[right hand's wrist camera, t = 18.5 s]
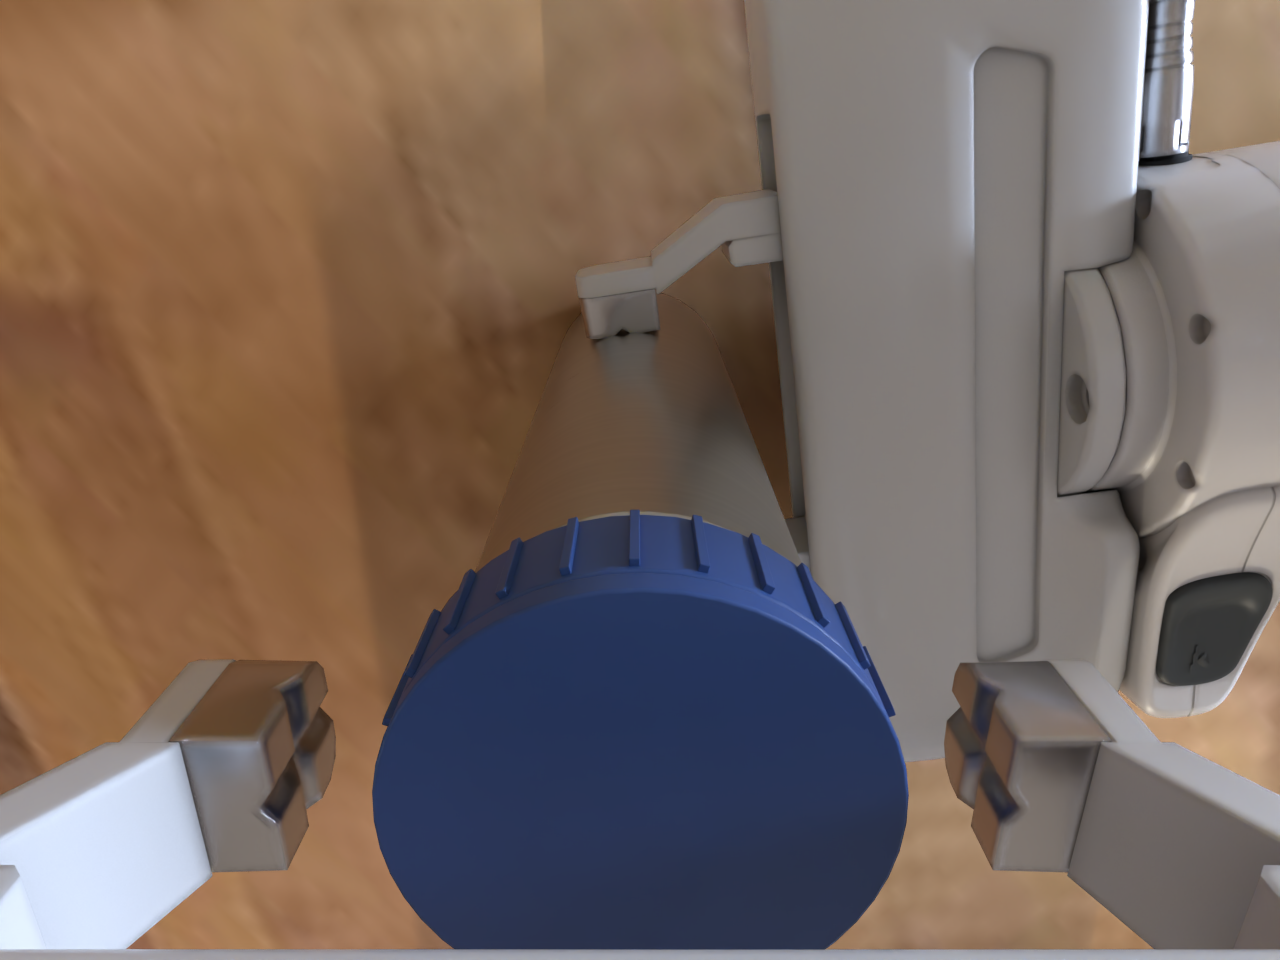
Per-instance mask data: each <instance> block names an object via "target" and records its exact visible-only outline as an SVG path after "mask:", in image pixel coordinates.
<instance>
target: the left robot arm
mask: <svg viewBox="0 0 1280 960" xmlns="http://www.w3.org/2000/svg"><path fill="white" fill-rule="evenodd" d="M744 4H745V16H746V27H747V38H748V48H749V59H750V69H751V80H752V91H753V101H754V112H755V122H756V133H757V144H758V154H759V165H760V175H761V186H762V190H760V191H754V192H748V193H742V194H736V195H730V196H724V197H718V198H714V199H713V200H712V201H710V202H709V203H708V204H707V205H705V206H704V207H703V208H702V209H701V210H699V211H698V212H697V213H696V214H695V215H693V216H692V217H691V218H690V219H689V220H687V221H686V222H685V223H684V224H683V225H681V226H680V227H679V228H678V229H677V230H675V231H674V232H673V233H672V234H671V235H669V236H668V237H667V238H666V239H664V240H663V241H662V242H661V243H660V244H658V245H657V246H656V247H655V248H654V249H652V250H651V256H649V257H642V258H636V259H630V260H624V261H617V262H611V263H605V264H598V265H593V266H590V267H586V268H583V269H580V270H578V271H577V273H576V275H575V280H576V286H577V292H578V297H579V303H580V308H581V313H582V318H583V323H584V328H585V333H586V338H589V339H603V338H608V337H611V336H615V335H616V334H617V333H618V332H619V331H620V330H621V329H623V330H625V331H627V332H629V333H643V332H649V331H655V330H660V321H659V313H658V305H657V297H656V292H657V294H660V293H661V292H662V291H663V290H665V289H666V288H667V287H669V286H670V285H671V284H672V283H674V282H675V281H676V280H677V279H679V278H680V277H681V276H683V275H684V274H685V273H686V272H688V271H689V270H690V269H691V268H693V267H694V266H695V265H697V264H698V263H699V262H700V261H702V260H703V259H704V258H705V257H707V256H708V255H709V254H711V253H712V252H713V251H714V250H716V249H717V248H718V247H719V246H721V248H722V252H723V253H724V255H725V256H726V257H727V259H728V260H729V262H730V263H731V264H733V265H734V266H735V267H740V266H747V265H754V264H761V263H768V262H769V271H770V281H771V292H772V302H773V313H774V324H775V334H776V345H777V355H778V366H779V376H780V387H781V398H782V408H783V419H784V429H785V440H786V451H787V461H788V472H789V482H790V493H791V503H792V514H793V518H789V519H785V522H786V525H787V527H788V530H789V532H790V535H791V538H792V540H793V543H794V545H795V548H796V550H797V553H798V556H799V558H800V561H801V563H804V564H805V565H806V566H807V567H808V568H809V570H810V573H811V575H812V578H813V580H814V581H815V582H816V583H817V584H818V586H819V587H820V588H821V589H822V590H823V591H824V592H825V593H826V595H827V596H828V597H829V598H830V599H831V600H832V601H833V602H834V604H836V603H838V602H840V601H841V602H842V604H843V605H844V606H845V608H846V610H847V613H848V615H849V617H850V619H851V622H852V624H853V626H854V628H855V631H856V633H857V635H858V637H859V640H860V642H861V644H862V646H866V648H867V650H868V652H869V654H870V657H871V659H872V661H873V663H874V666H875V668H876V670H877V672H878V674H879V677H880V679H881V681H882V683H883V686H884V688H885V690H886V692H887V694H888V697H889V699H890V701H891V703H892V706H893V708H894V711H895V713H896V715H895V716H892V717H889V719H890V721H891V723H892V725H893V728H894V730H895V732H896V735H897V737H898V739H899V743H900V746H901V750H902V754H903V757H904V762H915V761H924V760H933V759H941V758H945V751H944V738H945V731H946V723H947V720H948V719H949V718H950V717H951V716H952V715H953V714H954V713H955V712H956V711H957V710H958V709H959V708H960V707H961V706H960V705H959V703H958V701H957V699H956V697H955V696H954V694H953V692H952V687H953V681H954V676H955V672H956V670H957V668H958V666H959V664H960V663H964V662H1020V661H1042V660H1068V659H1083V660H1085V661H1087V662H1089V663H1091V664H1093V665H1094V667H1095V668H1096V669H1097V670H1098V671H1099V672H1100V673H1101V675H1102V676H1103V677H1104V678H1105V679H1106V680H1107V681H1108V683H1109V684H1110V685H1111V686H1112V687H1113V688H1114V689H1115V691H1116V692H1118V691H1119V690H1120V691H1121V692H1122V693H1123V694H1124V695H1126V696H1127V697H1128V698H1129V699H1130V700H1131V701H1132V702H1133V703H1134V704H1135V705H1136V706H1137V707H1138V708H1140V709H1141V710H1142V711H1143V712H1144V713H1146V714H1147V715H1149V716H1152V717H1157V718H1179V717H1186V716H1187V717H1188V716H1194V715H1198V714H1202V713H1205V712H1208V711H1210V710H1212V709H1214V708H1215V707H1217V706H1218V705H1219V704H1221V703H1222V702H1223V701H1224V700H1225V698H1226V697H1227V696H1228V695H1229V693H1230V692H1231V690H1232V688H1233V687H1234V685H1235V683H1236V681H1237V679H1238V677H1239V676H1240V674H1241V672H1242V670H1243V668H1244V666H1245V664H1246V662H1247V660H1248V658H1249V656H1250V654H1251V652H1252V650H1253V648H1254V646H1255V644H1256V642H1257V640H1258V639H1259V637H1260V635H1261V633H1262V631H1263V629H1264V627H1265V626H1266V624H1267V622H1268V620H1269V619H1270V617H1271V615H1272V613H1273V611H1274V610H1275V608H1276V606H1277V605H1278V603H1279V601H1280V141H1274V142H1268V143H1262V144H1256V145H1250V146H1243V147H1237V148H1231V149H1224V150H1218V151H1212V152H1206V153H1199V154H1193V155H1192V154H1188V149H1189V137H1190V126H1191V112H1192V100H1193V88H1194V65H1192V62H1193V61H1194V59H1193V51H1191V48H1192V47H1193V37H1190V36H1191V34H1192V33H1193V23H1192V22H1191V20H1192V19H1193V16H1194V7H1195V0H744ZM655 288H656V289H655Z"/></svg>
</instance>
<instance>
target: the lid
mask: <svg viewBox="0 0 1280 960" xmlns="http://www.w3.org/2000/svg"><path fill="white" fill-rule="evenodd" d="M895 715H896V713H895V711H894V708H893V706H892V703H891V701H890V699H889V697H888V694H887V692H886V690H885V688H884V686H883V683H882V681H881V679H880V677H879V674H878V672H877V670H876V668H875V666H874V663H873V661H872V659H871V657H870V654H869V652H868V650H867V648H866V646H862V644H861V642H860V640H859V637H858V635H857V633H856V631H855V628H854V626H853V624H852V622H851V619H850V617H849V615H848V613H847V610H846V608H845V606H844V605H843V604H842V602H841V601H840V602H838V603H836V604H834V602H833V601H832V600H831V599H830V598H829V597H828V596H827V595H826V593H825V592H824V591H823V590H822V589H821V588H820V587H819V586H818V584H817V583H816V582H815V581H814V580H813V578H812V575H811V573H810V570H809V568H808V567H807V566H806V565H805V564H804V563H801V564H800V565H799V566H798V567H797V566H796V565H795V564H794V563H792V562H791V561H789V560H788V559H786V558H785V557H783V556H781V555H780V554H778V553H777V552H775V551H774V550H772V549H770V548H769V547H767V546H765V545H763V544H762V542H761V539H760V536H758V535H756V534H754V533H751V534H750V536H749V538H748V537H746V536H744V535H742V534H740V533H737V532H734V531H731V530H728V529H725V528H721V527H718V526H715V525H712V524H709V523H705V522H703V520H702V516H698V515H692V519H691V520H689V519H684V518H679V517H670V516H655V515H640V510H630V515H626V516H609V517H603V518H597V519H592V520H586V521H580V522H579V521H578V518H577V517H574V518H570V519H568V523H567V525H566V526H563V527H559V528H556V529H553V530H550V531H546V532H544V533H542V534H540V535H537V536H535V537H533V538H531V539H528V540H526V541H524V542H522V540H521V539H520V537H519V538H517V539H515V540H513V541H512V542H511V545H510V548H509V550H507V551H506V552H504V553H502V554H501V555H499V556H498V557H496V558H494V559H493V560H491V561H490V562H489V563H487V564H486V565H485V566H484V567H482V568H481V569H480V570H479V571H478V572H476V573H475V572H474V571H473V570H472V569H470V570H469V571H468V572H466V573H465V575H464V577H463V580H462V582H461V585H460V587H459V590H458V591H457V592H456V593H455V594H454V595H453V596H452V597H451V598H450V599H449V601H448V602H447V604H446V605H445V606H444V608H443V609H442V611H441V612H440V611H438V610H436V609H434V610H433V612H432V613H431V615H430V617H429V619H428V621H427V624H426V626H425V628H424V630H423V633H422V635H421V637H420V639H419V642H418V644H417V646H416V649H415V651H414V653H413V654H412V655H411V657H410V660H409V662H408V664H407V666H406V669H405V671H404V673H403V676H402V678H401V680H400V682H399V685H398V687H397V689H396V691H395V694H394V696H393V698H392V700H391V703H390V705H389V707H388V710H387V712H386V714H385V716H384V719H383V723H382V724H383V725H385V726H388V727H387V730H386V732H385V734H384V737H383V740H382V744H381V747H380V750H379V754H378V757H377V761H376V764H375V773H374V782H373V790H372V796H373V814H374V823H375V828H376V832H377V837H378V841H379V845H380V849H381V852H382V854H383V857H384V859H385V862H386V864H387V867H388V869H389V872H390V874H391V876H392V878H393V879H394V881H395V883H396V884H397V886H398V888H399V890H400V891H401V893H402V895H403V896H404V898H405V899H406V901H407V902H408V903H409V904H410V906H411V907H412V908H413V909H414V911H415V912H416V913H417V914H418V916H419V917H420V918H421V919H422V920H423V921H424V922H425V923H426V924H427V925H428V926H429V927H430V928H431V929H432V930H433V931H434V932H435V933H436V934H437V935H438V936H439V937H440V938H441V939H442V940H443V941H445V942H446V943H447V944H449V945H450V946H451V947H453V948H454V949H632V950H825V949H826V948H828V947H829V946H830V945H832V944H833V943H834V942H836V941H837V940H838V939H839V938H840V937H841V936H842V935H843V934H844V933H845V932H846V931H847V930H848V929H849V928H851V927H852V926H853V925H854V924H855V923H856V922H857V921H858V919H859V918H860V917H861V916H862V915H863V913H864V912H865V911H866V910H867V908H868V907H869V906H870V905H871V904H872V902H873V901H874V900H875V898H876V897H877V895H878V893H879V892H880V890H881V888H882V887H883V885H884V883H885V882H886V880H887V879H888V877H889V875H890V872H891V870H892V868H893V865H894V863H895V861H896V858H897V856H898V854H899V851H900V847H901V843H902V839H903V835H904V831H905V827H906V821H907V809H908V796H909V795H908V783H907V772H906V765H905V762H904V757H903V754H902V750H901V746H900V743H899V739H898V737H897V735H896V732H895V730H894V728H893V725H892V723H891V721H890V719H889V717H892V716H895Z"/></svg>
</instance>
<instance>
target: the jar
mask: <svg viewBox="0 0 1280 960" xmlns="http://www.w3.org/2000/svg"><path fill="white" fill-rule="evenodd" d="M656 297H657V305H658V313H659V321H660V330H655V331H649V332H643V333H629V332H627V331H625V330H623V329H621V330H620V331H619V332H618V333H617V334H616V335H615V336H611V337H608V338H603V339H589V338H586V333H585V328H584V323H583V318H582V313H581V314H580V315H579V316H578V317H577V319H576V320H575V321H574V322H573V324H572V325H571V326H570V328H569V329H568V331H567V333H566V335H565V337H564V339H563V341H562V344H561V346H560V349H559V352H558V354H557V357H556V360H555V362H554V365H553V368H552V370H551V373H550V376H549V378H548V381H547V383H546V386H545V389H544V391H543V394H542V397H541V399H540V402H539V405H538V407H537V410H536V412H535V415H534V418H533V420H532V423H531V426H530V428H529V431H528V434H527V436H526V439H525V441H524V444H523V447H522V449H521V452H520V455H519V457H518V460H517V463H516V465H515V468H514V471H513V473H512V476H511V478H510V481H509V484H508V486H507V489H506V492H505V494H504V497H503V500H502V502H501V505H500V507H499V510H498V513H497V515H496V518H495V521H494V523H493V526H492V529H491V531H490V534H489V536H488V539H487V542H486V544H485V547H484V550H483V552H482V555H481V558H480V560H479V563H478V566H477V568H476V571H475V573H476V572H478V571H479V570H480V569H481V568H482V567H484V566H485V565H486V564H487V563H489V562H490V561H491V560H493V559H494V558H496V557H498V556H499V555H501V554H502V553H504V552H506V551H507V550H509V548H510V545H511V542H512V541H513V540H515V539H517V538H519V537H520V539H521V540H522V542H524V541H526V540H528V539H531V538H533V537H535V536H537V535H540V534H542V533H544V532H546V531H550V530H553V529H556V528H559V527H563V526H566V525H567V523H568V519H570V518H574V517H577V518H578V521H579V522H580V521H586V520H592V519H597V518H603V517H609V516H626V515H630V510H640V515H655V516H670V517H679V518H684V519H689V520H691V519H692V515H698V516H702V520H703V522H705V523H709V524H712V525H715V526H718V527H721V528H725V529H728V530H731V531H734V532H737V533H740V534H742V535H744V536H746V537H748V538H749V536H750V534H751V533H754V534H756V535H758V536H760V539H761V542H762V544H763V545H765V546H767V547H769V548H770V549H772V550H774V551H775V552H777V553H778V554H780V555H781V556H783V557H785V558H786V559H788V560H789V561H791V562H792V563H794V564H795V565H796V566H797V567H798V566H799V565H800V564H801V561H800V558H799V556H798V553H797V550H796V548H795V545H794V543H793V540H792V538H791V535H790V532H789V530H788V527H787V525H786V522H785V519H784V517H783V514H782V512H781V509H780V506H779V504H778V501H777V499H776V496H775V494H774V491H773V488H772V486H771V483H770V481H769V478H768V475H767V473H766V470H765V468H764V465H763V462H762V460H761V457H760V455H759V452H758V450H757V447H756V444H755V442H754V439H753V437H752V434H751V431H750V429H749V426H748V424H747V421H746V419H745V416H744V413H743V411H742V408H741V406H740V403H739V400H738V398H737V395H736V393H735V390H734V387H733V385H732V382H731V380H730V377H729V375H728V372H727V369H726V367H725V364H724V362H723V359H722V356H721V354H720V351H719V349H718V346H717V344H716V341H715V339H714V336H713V334H712V333H711V331H710V329H709V327H708V326H707V325H706V323H705V322H704V321H703V319H702V318H701V317H700V316H699V315H698V314H697V313H696V312H695V311H694V310H692V309H691V308H690V307H689V306H687V305H686V304H684V303H683V302H681V301H679V300H677V299H675V298H673V297H671V296H668V295H666V294H662V293H660V294H657V292H656Z"/></svg>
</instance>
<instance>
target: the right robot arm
mask: <svg viewBox="0 0 1280 960" xmlns="http://www.w3.org/2000/svg"><path fill="white" fill-rule="evenodd" d="M327 692H328V687H327V682H326V677H325V673H324V668H323V667H322V666H321V665H320V664H319V663H318V662H317V661H273V660H238V661H236V660H197V661H193V662H190V663H188V664H187V665H186V666H185V668H184V669H183V670H182V671H181V672H180V673H179V674H178V676H177V677H176V678H175V679H174V680H173V681H172V682H171V684H170V685H169V686H168V687H167V688H166V689H165V690H164V692H163V693H162V694H161V695H160V696H159V697H158V698H157V700H156V701H155V702H154V703H153V704H152V705H151V707H150V708H149V709H148V710H147V711H146V712H145V713H144V715H143V716H142V717H141V718H140V719H139V720H138V721H137V723H136V724H135V725H134V726H133V727H132V728H131V729H130V731H129V732H128V733H127V734H126V735H125V736H124V737H123V739H122V740H121V741H120V742H106V743H104V744H102V745H100V746H98V747H96V748H94V749H92V750H90V751H88V752H86V753H84V754H82V755H80V756H78V757H76V758H74V759H72V760H70V761H68V762H66V763H64V764H62V765H60V766H58V767H56V768H54V769H52V770H50V771H48V772H46V773H44V774H42V775H40V776H38V777H36V778H34V779H32V780H30V781H28V782H26V783H24V784H22V785H20V786H18V787H16V788H14V789H12V790H10V791H8V792H6V793H4V794H2V795H0V960H1280V795H1278V794H1276V793H1274V792H1272V791H1270V790H1268V789H1266V788H1264V787H1262V786H1260V785H1258V784H1256V783H1254V782H1252V781H1250V780H1248V779H1246V778H1244V777H1242V776H1240V775H1238V774H1236V773H1234V772H1232V771H1230V770H1228V769H1226V768H1224V767H1222V766H1220V765H1218V764H1216V763H1214V762H1212V761H1210V760H1208V759H1206V758H1204V757H1202V756H1200V755H1198V754H1196V753H1194V752H1192V751H1190V750H1188V749H1186V748H1184V747H1182V746H1180V745H1178V744H1176V743H1174V742H1160V741H1159V740H1158V739H1157V737H1156V736H1155V735H1154V734H1153V733H1152V732H1151V731H1150V729H1149V728H1148V727H1147V726H1146V725H1145V724H1144V723H1143V721H1142V720H1141V719H1140V718H1139V717H1138V716H1137V715H1136V713H1135V712H1134V711H1133V710H1132V709H1131V708H1130V707H1129V705H1128V704H1127V703H1126V702H1125V701H1124V700H1123V699H1122V697H1121V696H1120V695H1119V694H1118V693H1117V692H1116V691H1115V689H1114V688H1113V687H1112V686H1111V685H1110V684H1109V683H1108V681H1107V680H1106V679H1105V678H1104V677H1103V676H1102V675H1101V673H1100V672H1099V671H1098V670H1097V669H1096V668H1095V667H1094V665H1093V664H1091V663H1089V662H1087V661H1085V660H1083V659H1068V660H1042V661H1020V662H964V663H960V664H959V666H958V668H957V670H956V672H955V676H954V681H953V687H952V692H953V694H954V696H955V697H956V699H957V701H958V703H959V705H960V706H961V707H960V708H959V709H958V710H957V711H956V712H955V713H954V714H953V715H952V716H951V717H950V718H949V719H948V720H947V723H946V731H945V738H944V751H945V763H946V769H947V772H948V776H949V779H950V783H951V785H952V787H953V789H954V791H955V793H956V796H957V798H958V799H960V800H961V801H963V802H964V803H966V804H967V805H968V806H970V807H971V808H973V809H974V812H973V818H972V823H971V827H972V829H973V831H974V833H975V835H976V837H977V839H978V841H979V843H980V845H981V847H982V849H983V851H984V853H985V855H986V857H987V859H988V861H989V863H990V865H991V867H992V869H993V870H1005V871H1041V872H1068V875H1067V876H1068V877H1070V878H1071V879H1072V880H1073V881H1074V882H1075V883H1077V884H1078V885H1079V886H1080V887H1081V888H1083V889H1084V890H1085V891H1086V892H1087V893H1089V894H1090V895H1091V896H1092V897H1093V898H1094V899H1096V900H1097V901H1098V902H1099V903H1100V904H1102V905H1103V906H1104V907H1105V908H1106V909H1108V910H1109V911H1110V912H1111V913H1112V914H1113V915H1115V916H1116V917H1117V918H1118V919H1119V920H1121V921H1122V922H1123V923H1124V924H1125V925H1126V926H1128V927H1129V928H1130V929H1131V930H1132V931H1134V932H1135V933H1136V934H1137V935H1138V936H1140V937H1141V938H1142V939H1143V940H1144V941H1145V942H1147V943H1148V944H1149V945H1150V946H1151V947H1153V948H1154V949H978V950H632V949H217V950H152V949H126V948H128V947H129V946H130V945H131V944H132V943H134V942H135V941H136V940H137V939H138V938H139V937H141V936H142V935H143V934H144V933H145V932H147V931H148V930H149V929H150V928H151V927H153V926H154V925H155V924H156V923H157V922H159V921H160V920H161V919H162V918H163V917H164V916H166V915H167V914H168V913H169V912H170V911H172V910H173V909H174V908H175V907H176V906H178V905H179V904H180V903H181V902H182V901H183V900H185V899H186V898H187V897H188V896H189V895H191V894H192V893H193V892H194V891H195V890H197V889H198V888H199V887H200V886H201V885H203V884H204V883H205V882H206V881H207V880H208V879H210V878H211V877H212V872H238V871H273V870H288V868H289V865H290V863H291V861H292V859H293V857H294V855H295V853H296V851H297V849H298V847H299V845H300V843H301V841H302V839H303V837H304V835H305V833H306V831H307V829H308V827H309V823H308V818H307V812H306V809H307V808H309V807H310V806H312V805H313V804H314V803H316V802H317V801H319V800H320V799H322V798H323V796H324V793H325V791H326V789H327V787H328V785H329V782H330V780H331V776H332V771H333V766H334V762H335V757H336V736H335V729H334V723H333V720H332V719H331V718H330V717H329V716H328V715H327V714H326V713H325V712H324V711H323V710H322V709H321V708H320V707H319V706H320V705H321V703H322V701H323V699H324V697H325V696H326V694H327Z"/></svg>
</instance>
